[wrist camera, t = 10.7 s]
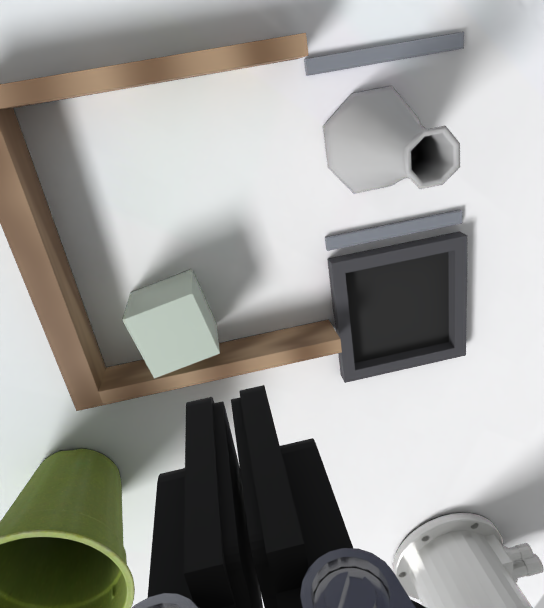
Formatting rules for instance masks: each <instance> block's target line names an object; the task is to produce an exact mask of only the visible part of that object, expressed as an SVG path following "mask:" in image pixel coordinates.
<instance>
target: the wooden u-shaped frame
mask: <svg viewBox="0 0 544 608" xmlns="http://www.w3.org/2000/svg"><path fill="white" fill-rule="evenodd" d="M305 56H308V47H307V38H306V33H302V34H296V35H290V36H284V37H278V38H272V39H266V40H260V41H254V42H248V43H243V44H237V45H231V46H225V47H219V48H213V49H207V50H201V51H195V52H189V53H183V54H177V55H171V56H166V57H160V58H154V59H148V60H142V61H136V62H130V63H124V64H118V65H112V66H106V67H100V68H94V69H88V70H83V71H77V72H71V73H65V74H59V75H53V76H47V77H41V78H35V79H29V80H23V81H17V82H11V83H5V84H0V224H1V226H2V228H3V231H4V233H5V236H6V238H7V241H8V243H9V246H10V248H11V251H12V253H13V256H14V258H15V260H16V263H17V265H18V268H19V270H20V273H21V275H22V278H23V280H24V283H25V285H26V288H27V290H28V293H29V295H30V297H31V300H32V302H33V305H34V307H35V310H36V312H37V315H38V317H39V320H40V322H41V325H42V327H43V330H44V332H45V334H46V337H47V339H48V342H49V344H50V347H51V349H52V352H53V354H54V357H55V359H56V362H57V364H58V366H59V369H60V371H61V374H62V376H63V379H64V381H65V384H66V386H67V389H68V391H69V394H70V396H71V399H72V401H73V403H74V406H75V408H76V411H79V410H84V409H88V408H93V407H97V406H102V405H106V404H111V403H115V402H120V401H124V400H129V399H133V398H138V397H142V396H147V395H152V394H156V393H161V392H165V391H170V390H174V389H179V388H183V387H188V386H192V385H197V384H201V383H206V382H210V381H215V380H219V379H224V378H228V377H233V376H237V375H242V374H246V373H251V372H255V371H260V370H264V369H269V368H273V367H278V366H282V365H287V364H291V363H296V362H300V361H305V360H309V359H314V358H318V357H323V356H327V355H332V354H337V353H341V352H342V349H341V340H340V337H339V336H338V334H337V333H336V331H335V329H334V328H333V326H332V324H331V323H330V321H329V320H324V321H319V322H315V323H310V324H306V325H301V326H296V327H292V328H287V329H282V330H278V331H273V332H269V333H264V334H259V335H255V336H250V337H245V338H241V339H236V340H231V341H227V342H222V343H219V350H220V354H217V355H215V356H212V357H209V358H207V359H204V360H201V361H199V362H196V363H194V364H191V365H188V366H186V367H183V368H181V369H178V370H175V371H173V372H170V373H168V374H165V375H162V376H160V377H157V378H154V377H153V375H152V374H151V372H150V370H149V368H148V366H147V364H146V363H145V361H144V359H143V360H139V361H134V362H130V363H125V364H120V365H116V366H111V367H106V366H105V363H104V361H103V358H102V355H101V352H100V349H99V347H98V344H97V341H96V338H95V335H94V333H93V330H92V327H91V324H90V321H89V319H88V316H87V313H86V310H85V307H84V305H83V302H82V299H81V296H80V293H79V291H78V288H77V285H76V282H75V279H74V277H73V274H72V271H71V268H70V265H69V263H68V260H67V257H66V254H65V251H64V249H63V246H62V243H61V240H60V237H59V235H58V232H57V229H56V226H55V224H54V221H53V218H52V215H51V212H50V210H49V207H48V204H47V201H46V198H45V196H44V193H43V190H42V187H41V184H40V182H39V179H38V176H37V173H36V170H35V168H34V165H33V162H32V159H31V156H30V154H29V151H28V148H27V145H26V142H25V140H24V137H23V134H22V131H21V128H20V126H19V123H18V120H17V117H16V114H15V112H14V109H13V108H16V107H22V106H28V105H34V104H39V103H45V102H51V101H57V100H63V99H68V98H74V97H80V96H86V95H92V94H97V93H103V92H109V91H115V90H121V89H126V88H132V87H138V86H144V85H149V84H155V83H161V82H167V81H173V80H178V79H184V78H190V77H196V76H202V75H207V74H213V73H219V72H225V71H231V70H236V69H242V68H248V67H254V66H260V65H265V64H271V63H277V62H283V61H288V60H294V59H299V58H302V57H305Z"/></svg>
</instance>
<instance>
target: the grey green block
mask: <svg viewBox="0 0 544 608" xmlns="http://www.w3.org/2000/svg"><path fill="white" fill-rule="evenodd" d="M122 321H123V322H124V324H125V326H126V328H127V330H128V332H129V333H130V335H131V337H132V339H133V341H134V343H135V344H136V346H137V348H138V350H139V352H140V353H141V355H142V357H143V359H144V361H145V363H146V364H147V366H148V368H149V370H150V372H151V374H152V375H153V377H154V378H157V377H160V376H162V375H165V374H168V373H170V372H173V371H175V370H178V369H181V368H183V367H186V366H188V365H191V364H194V363H196V362H199V361H201V360H204V359H207V358H209V357H212V356H215V355H217V354H220V350H219V341H218V333H217V324H216V321H215V319H214V317H213V315H212V312H211V310H210V308H209V306H208V303H207V301H206V299H205V297H204V295H203V292H202V290H201V288H200V286H199V283H198V281H197V279H196V277H195V275H194V272H193V270H192V269H191V270H188V271H185V272H183V273H180V274H178V275H175V276H172V277H170V278H167V279H165V280H162V281H159V282H157V283H154V284H151V285H149V286H146V287H144V288H141V289H138V290H136V291H133V292H131V293H130V296H129V299H128V303H127V306H126V309H125V313H124V316H123V320H122Z"/></svg>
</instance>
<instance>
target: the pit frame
mask: <svg viewBox="0 0 544 608" xmlns="http://www.w3.org/2000/svg"><path fill="white" fill-rule="evenodd" d="M328 268H329V276H330V285H331V294H332V302H333V311H334V319H335V328H336V333H337V334H338V336H339V337H340V340H341V349H342V352H341V353H338V354H339V362H340V371H341V376H342V378H343V380H344V382H345V383H346V382H350V381H355V380H359V379H363V378H368V377H372V376H377V375H381V374H385V373H390V372H394V371H399V370H403V369H407V368H412V367H416V366H421V365H425V364H430V363H434V362H438V361H443V360H447V359H452V358H456V357H460V356H465V355H466V303H467V235H465V234H463V233H461V232H456V233H451V234H446V235H441V236H436V237H431V238H427V239H422V240H417V241H412V242H407V243H402V244H397V245H393V246H388V247H383V248H378V249H373V250H368V251H363V252H359V253H354V254H349V255H344V256H339V257H334V258H329V259H328Z"/></svg>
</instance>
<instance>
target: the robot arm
mask: <svg viewBox="0 0 544 608" xmlns="http://www.w3.org/2000/svg"><path fill="white" fill-rule="evenodd" d="M240 397H241V398H236V399H232V400H231V405H232V412H233V420H234V427H235V435H236V442H237V450H238V457H239V463H238V459H237V455H236V451H235V447H234V443H233V439H232V434H231V430H230V426H229V422H228V418H227V414H226V410H225V406H224V402H218V403H214V401H213V398H212V397H209V398H205V399H200V400H196V401H191V402H187V403H186V443H185V468H184V469H179V470H175V471H171V472H166V473H162V474H160V475H159V477H158V482H157V493H156V505H155V517H154V529H153V541H152V553H151V565H150V576H149V588H148V598H147V599H145V600H143V601H141V602H140V603H138V604H136V605H134V606H133V607H132V608H263V605H262V598H263V602H264V606H265V608H532V606H531V605H530V603H529V602H528V600H527V599H526V597H525V596H524V594H523V593H522V591H521V590H520V588H519V587H518V585H517V584H516V582H517V580H518V579H517V578H520V577H524V576H531V575H535V574H538V573H542V572H543V565H542V563H541V561H540V559H539V557H538V556H537V555H536V554H534V553H533V552H532V549H531V547H530V546H529V545H528V544H527V543H524V544H520V545H516V546H515V547H512V548H507V547H506V546H504V547H503V539H502V537H501V534H500V532H499V531H498V530H497V528H496V527H495V525H494V524H493V523H492V522H491V521H489V520H488V519H487V518H484V517H482V516H480V515H476V514H472V513H456V514H449V515H445V516H441V517H438V518H436V519H433V520H431V521H429V522H427V523H425V524H423V525H422V526H420V527H419V528H417V529H416V530H415V531H413V532H412V533H411V534H410V535H409V536H408V537H407V538H406V539H405V540H404V541H403V543H402V544H401V545H400V547H399V548H398V550H397V552H396V554H395V557H394V561H393V571H392V570H391V568H390V567H389V566H388V565H387V564H386V562H385V561H383V560H382V559H380V558H379V557H377V556H376V555H374V554H373V553H370V552H367V551H364V550H361V549H355V548H353V546H352V544H351V541H350V538H349V535H348V532H347V530H346V527H345V524H344V521H343V518H342V516H341V513H340V510H339V507H338V504H337V502H336V499H335V496H334V493H333V490H332V488H331V485H330V482H329V479H328V476H327V474H326V471H325V468H324V465H323V462H322V460H321V457H320V454H319V451H318V449H317V446H316V443H315V441H314V439H313V438H312V439H308V440H304V441H299V442H295V443H291V444H287V445H282V446H279V442H278V438H277V434H276V430H275V426H274V422H273V418H272V414H271V410H270V406H269V402H268V398H267V394H266V391H265V387H264V385H263V386H259V387H254V388H250V389H245V390H241V391H240ZM239 465H240V467H239ZM261 595H262V598H261ZM408 595H409V596H411V597H413V598H416V599H420V601H421V603H422V605H421V604H419V603H417V602H415V601H413V600H411V599H410V598H409V596H408Z"/></svg>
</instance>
